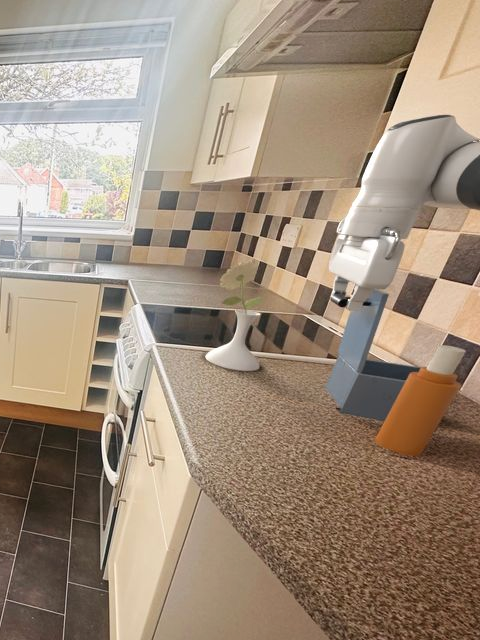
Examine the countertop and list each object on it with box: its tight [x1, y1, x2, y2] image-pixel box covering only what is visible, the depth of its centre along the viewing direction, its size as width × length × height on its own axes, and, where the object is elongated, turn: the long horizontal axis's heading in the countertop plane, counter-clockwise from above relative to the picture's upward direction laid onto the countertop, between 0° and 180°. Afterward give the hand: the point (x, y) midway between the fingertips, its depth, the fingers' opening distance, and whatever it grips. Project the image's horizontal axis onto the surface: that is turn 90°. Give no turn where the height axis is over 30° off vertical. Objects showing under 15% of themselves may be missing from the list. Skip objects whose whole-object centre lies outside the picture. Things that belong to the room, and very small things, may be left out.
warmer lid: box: [329, 289, 390, 372], centre depth 79 cm, size 14×12×5 cm
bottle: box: [374, 344, 466, 461], centre depth 66 cm, size 6×6×18 cm
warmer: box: [324, 354, 422, 422], centre depth 80 cm, size 14×12×9 cm
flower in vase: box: [205, 260, 264, 372], centre depth 96 cm, size 13×11×25 cm
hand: (343, 304), depth 78 cm, fingers open, 8 cm apart
